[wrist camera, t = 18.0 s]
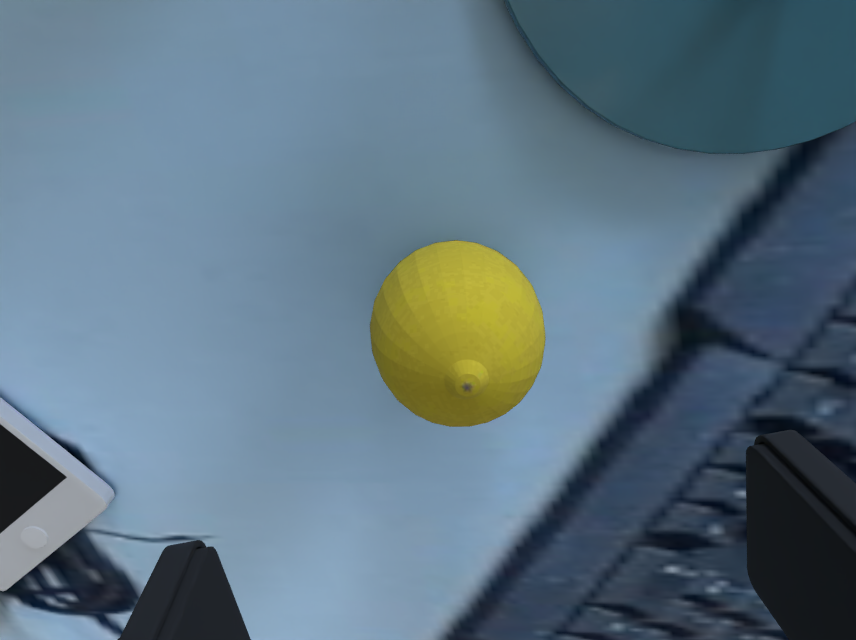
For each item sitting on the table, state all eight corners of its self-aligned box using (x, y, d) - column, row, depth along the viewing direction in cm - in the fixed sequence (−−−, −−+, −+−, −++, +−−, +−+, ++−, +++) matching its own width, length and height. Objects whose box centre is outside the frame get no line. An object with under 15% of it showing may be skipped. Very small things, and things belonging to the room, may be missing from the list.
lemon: (346, 274, 24) (319, 366, 17) (468, 187, 23) (499, 244, 16) (430, 381, 26) (442, 507, 18) (548, 305, 25) (610, 406, 17)
